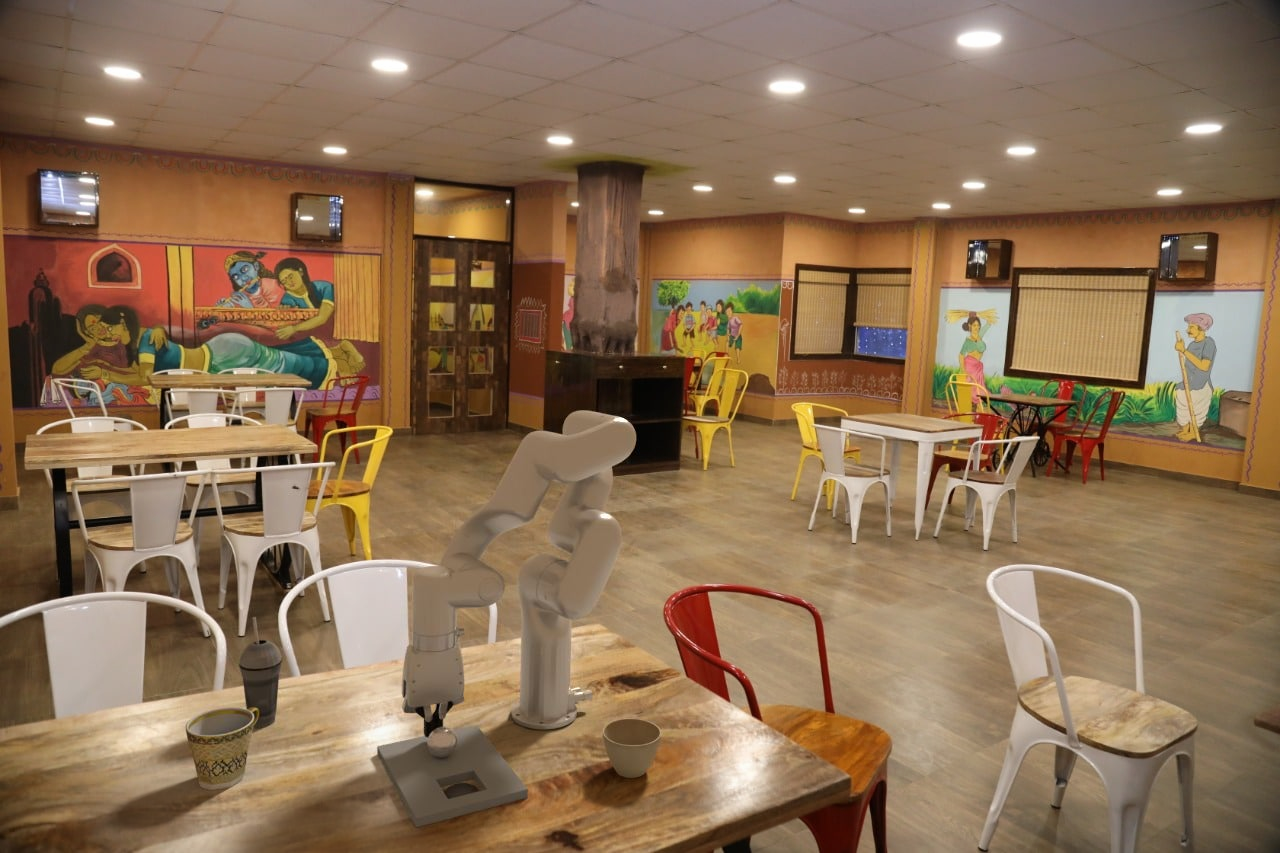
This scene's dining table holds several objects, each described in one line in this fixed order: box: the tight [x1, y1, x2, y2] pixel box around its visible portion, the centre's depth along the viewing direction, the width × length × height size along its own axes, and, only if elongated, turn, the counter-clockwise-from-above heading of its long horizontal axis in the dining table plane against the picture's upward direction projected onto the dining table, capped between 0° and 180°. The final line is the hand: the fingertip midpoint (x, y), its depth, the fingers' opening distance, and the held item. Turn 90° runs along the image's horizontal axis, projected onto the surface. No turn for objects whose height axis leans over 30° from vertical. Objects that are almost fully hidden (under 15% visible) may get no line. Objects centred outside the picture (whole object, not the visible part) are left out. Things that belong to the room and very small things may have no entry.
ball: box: [427, 726, 457, 758], centre depth 148 cm, size 5×5×5 cm
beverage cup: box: [238, 616, 283, 729], centre depth 159 cm, size 7×7×20 cm
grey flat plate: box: [376, 724, 529, 828], centre depth 145 cm, size 18×24×2 cm
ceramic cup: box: [185, 706, 259, 791], centre depth 142 cm, size 13×10×10 cm
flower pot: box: [602, 717, 662, 779], centre depth 148 cm, size 10×10×7 cm
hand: (433, 738), depth 152 cm, fingers closed
